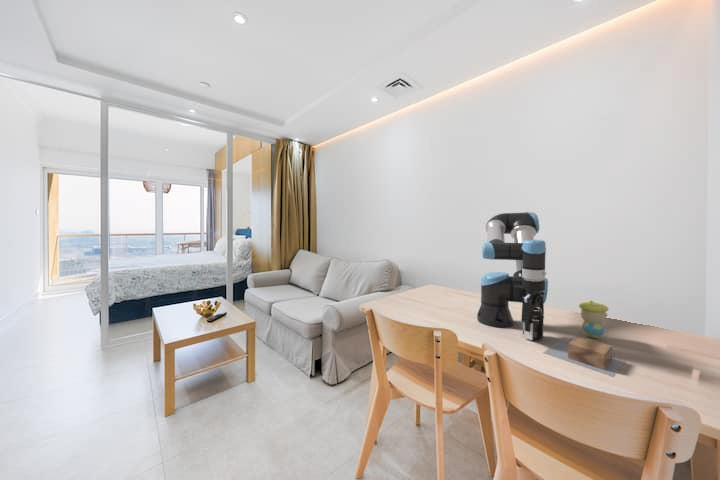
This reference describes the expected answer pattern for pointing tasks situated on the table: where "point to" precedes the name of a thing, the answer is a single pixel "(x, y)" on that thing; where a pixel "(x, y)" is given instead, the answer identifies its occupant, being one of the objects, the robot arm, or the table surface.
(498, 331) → the table surface
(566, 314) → the table surface
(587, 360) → the walnut block
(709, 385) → the table surface
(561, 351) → the plate
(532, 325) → the robot arm
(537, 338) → the beverage can
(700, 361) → the table surface
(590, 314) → the toy
